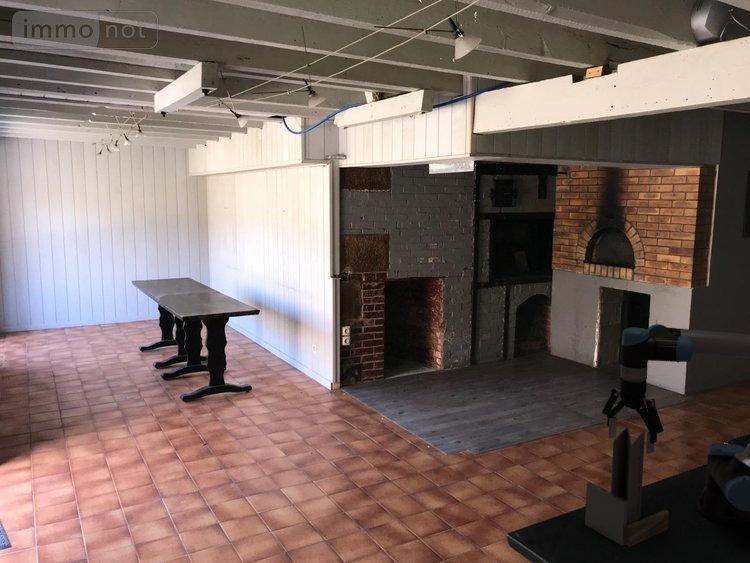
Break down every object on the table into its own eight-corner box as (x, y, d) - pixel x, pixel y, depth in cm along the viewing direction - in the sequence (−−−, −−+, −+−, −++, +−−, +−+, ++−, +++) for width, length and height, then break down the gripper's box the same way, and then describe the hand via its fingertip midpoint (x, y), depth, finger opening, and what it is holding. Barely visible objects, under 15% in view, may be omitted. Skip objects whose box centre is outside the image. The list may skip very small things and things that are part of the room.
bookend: (625, 544, 186) (627, 501, 184) (622, 546, 186) (624, 502, 184) (588, 523, 198) (590, 482, 196) (585, 524, 198) (586, 483, 196)
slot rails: (667, 529, 194) (669, 511, 193) (629, 547, 185) (630, 528, 184) (621, 506, 209) (622, 489, 208) (584, 521, 200) (585, 503, 199)
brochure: (627, 538, 190) (632, 445, 185) (609, 532, 193) (613, 440, 189) (640, 518, 201) (645, 429, 196) (622, 512, 204) (627, 426, 200)
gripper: (592, 370, 198) (590, 434, 202) (662, 392, 177) (658, 462, 180) (607, 366, 202) (605, 429, 205) (678, 387, 181) (675, 456, 184)
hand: (630, 444), depth 193 cm, fingers open, 13 cm apart
